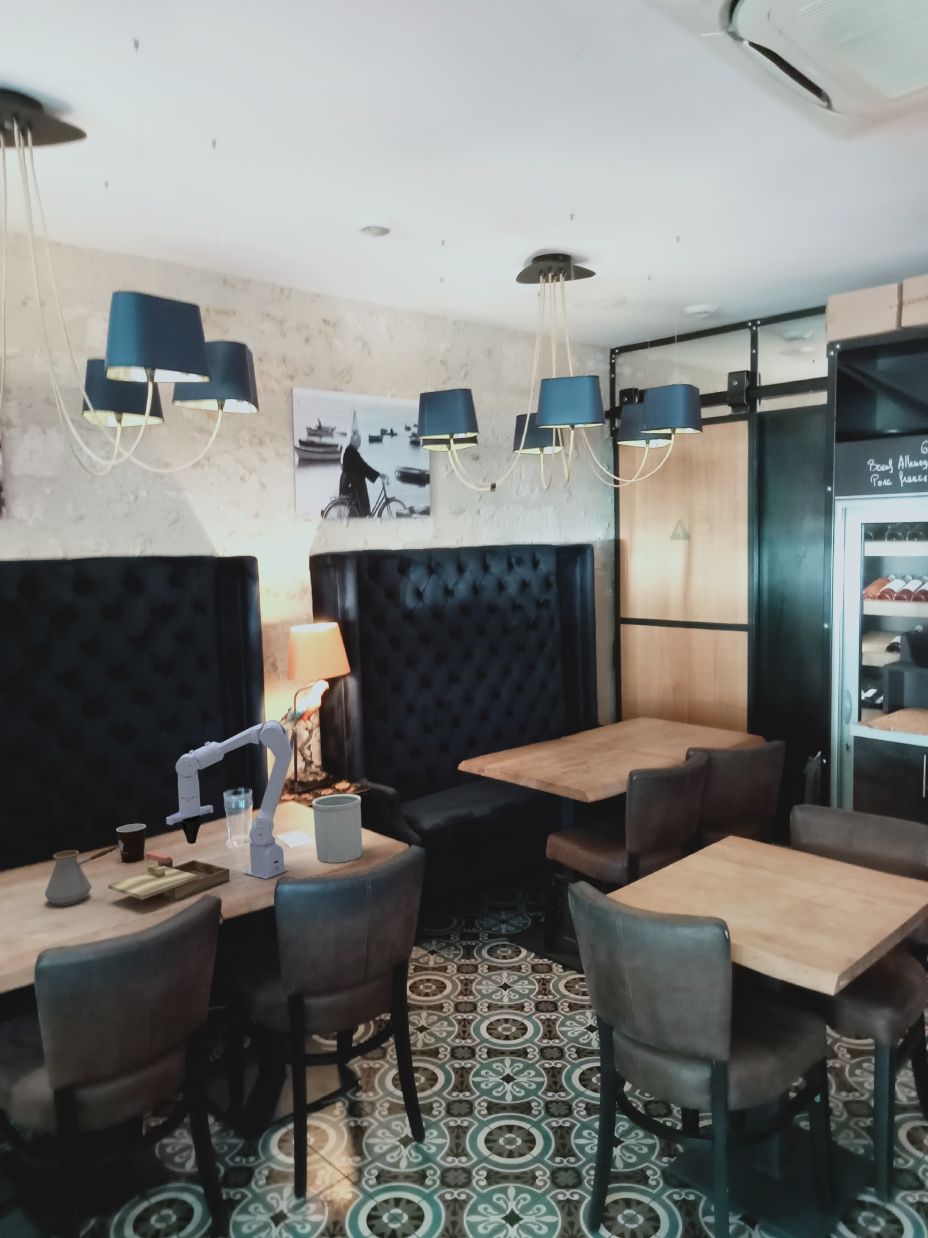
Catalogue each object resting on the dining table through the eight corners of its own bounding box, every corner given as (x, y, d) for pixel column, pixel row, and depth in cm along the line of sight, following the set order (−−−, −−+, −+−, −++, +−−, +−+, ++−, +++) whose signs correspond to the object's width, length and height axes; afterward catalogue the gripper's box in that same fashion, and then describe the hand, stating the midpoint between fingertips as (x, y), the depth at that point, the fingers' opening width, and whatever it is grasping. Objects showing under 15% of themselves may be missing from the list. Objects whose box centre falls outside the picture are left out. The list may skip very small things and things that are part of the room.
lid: (198, 879, 238) (197, 867, 238) (142, 899, 224) (141, 887, 224) (164, 869, 247) (163, 858, 247) (108, 888, 233) (107, 877, 233)
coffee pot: (36, 908, 231) (33, 853, 230) (60, 892, 243) (57, 839, 242) (112, 908, 229) (109, 852, 228) (133, 892, 240) (130, 839, 240)
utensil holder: (305, 856, 266) (302, 800, 265) (346, 845, 276) (343, 790, 275) (331, 867, 255) (329, 808, 254) (373, 855, 265) (370, 798, 264)
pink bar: (171, 862, 249) (171, 856, 249) (164, 864, 247) (163, 858, 247) (152, 856, 254) (152, 851, 254) (145, 859, 252) (145, 853, 252)
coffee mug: (148, 861, 267) (146, 829, 266) (118, 866, 264) (116, 833, 263) (147, 850, 278) (145, 820, 277) (118, 855, 275) (116, 823, 274)
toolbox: (229, 881, 247) (228, 860, 246) (175, 901, 232) (174, 880, 232) (191, 870, 257) (190, 851, 257) (136, 889, 242) (135, 869, 242)
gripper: (201, 789, 257) (203, 834, 257) (158, 800, 245) (161, 848, 246) (216, 792, 253) (219, 837, 253) (174, 803, 241) (176, 851, 242)
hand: (191, 843), depth 249 cm, fingers closed
